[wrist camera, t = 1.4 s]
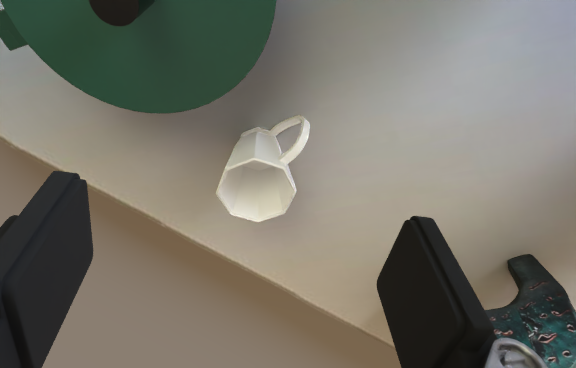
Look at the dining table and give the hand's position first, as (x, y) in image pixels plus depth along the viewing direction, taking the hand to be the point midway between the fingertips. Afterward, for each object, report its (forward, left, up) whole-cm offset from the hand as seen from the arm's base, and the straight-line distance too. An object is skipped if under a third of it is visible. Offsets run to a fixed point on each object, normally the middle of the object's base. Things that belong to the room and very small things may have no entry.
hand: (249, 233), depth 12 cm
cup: (+11, +3, -27) cm, 29 cm away
